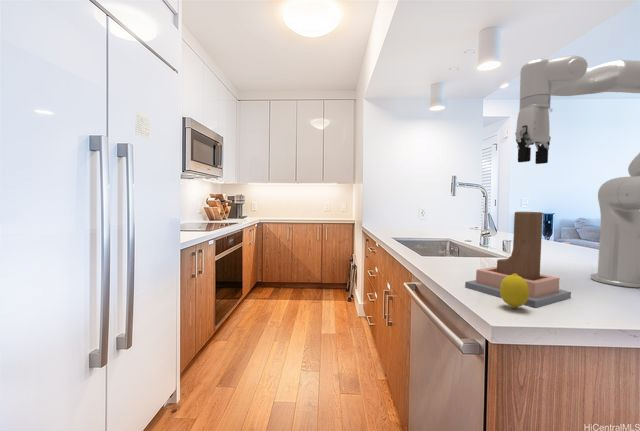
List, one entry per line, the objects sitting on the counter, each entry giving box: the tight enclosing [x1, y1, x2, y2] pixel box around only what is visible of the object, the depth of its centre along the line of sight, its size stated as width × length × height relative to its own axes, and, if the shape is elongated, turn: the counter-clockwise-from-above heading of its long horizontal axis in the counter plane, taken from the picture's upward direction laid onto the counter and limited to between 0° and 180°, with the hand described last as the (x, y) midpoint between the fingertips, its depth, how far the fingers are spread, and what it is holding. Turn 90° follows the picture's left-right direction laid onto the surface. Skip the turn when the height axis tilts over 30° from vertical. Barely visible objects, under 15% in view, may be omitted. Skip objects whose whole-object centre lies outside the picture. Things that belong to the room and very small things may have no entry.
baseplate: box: [464, 266, 572, 308], centre depth 80 cm, size 16×18×5 cm
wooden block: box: [496, 211, 544, 281], centre depth 80 cm, size 9×4×18 cm, turn 20°
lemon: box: [500, 274, 529, 309], centre depth 68 cm, size 6×6×8 cm
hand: (532, 162), depth 91 cm, fingers open, 9 cm apart
